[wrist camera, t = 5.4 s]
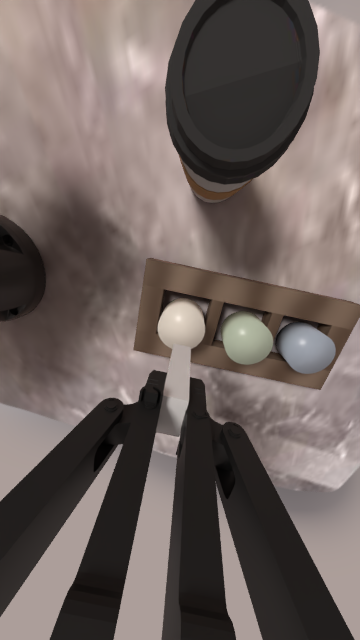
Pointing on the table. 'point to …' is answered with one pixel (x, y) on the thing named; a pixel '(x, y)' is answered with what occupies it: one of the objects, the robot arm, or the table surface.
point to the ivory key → (181, 323)
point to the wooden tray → (270, 298)
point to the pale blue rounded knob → (305, 347)
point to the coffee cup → (239, 89)
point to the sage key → (246, 338)
